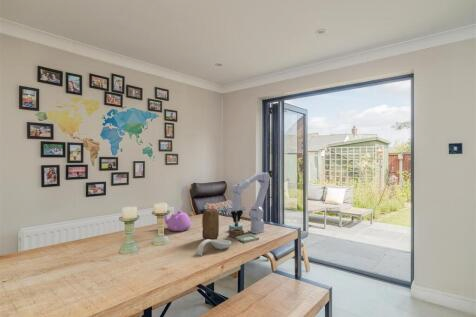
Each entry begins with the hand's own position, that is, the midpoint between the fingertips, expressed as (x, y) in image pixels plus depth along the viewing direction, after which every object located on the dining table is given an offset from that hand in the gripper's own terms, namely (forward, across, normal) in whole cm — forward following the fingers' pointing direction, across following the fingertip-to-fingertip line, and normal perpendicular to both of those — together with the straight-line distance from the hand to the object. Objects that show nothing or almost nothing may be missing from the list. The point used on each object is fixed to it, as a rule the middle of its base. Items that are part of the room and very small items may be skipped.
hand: (236, 221), depth 184 cm
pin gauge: (+3, 0, 0) cm, 3 cm away
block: (+10, +20, -2) cm, 22 cm away
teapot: (+10, +28, -38) cm, 48 cm away
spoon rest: (+10, +27, +15) cm, 32 cm away
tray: (+10, -2, +10) cm, 14 cm away
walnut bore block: (+10, 0, 0) cm, 10 cm away
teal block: (+10, -6, -10) cm, 15 cm away
